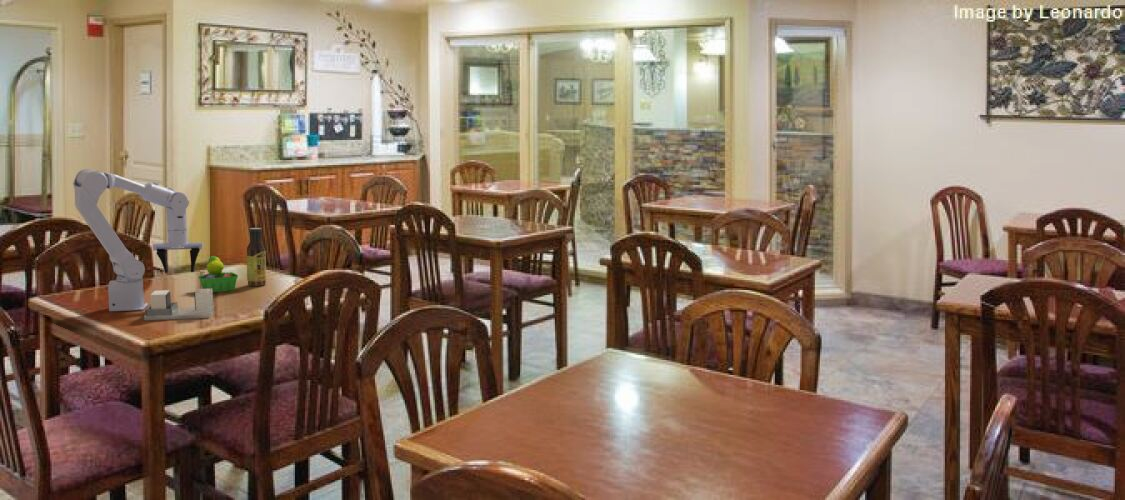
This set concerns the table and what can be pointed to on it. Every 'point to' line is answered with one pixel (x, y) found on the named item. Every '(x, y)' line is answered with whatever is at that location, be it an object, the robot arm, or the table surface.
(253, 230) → the sauce bottle
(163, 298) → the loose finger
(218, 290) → the fruit basket
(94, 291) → the table surface
